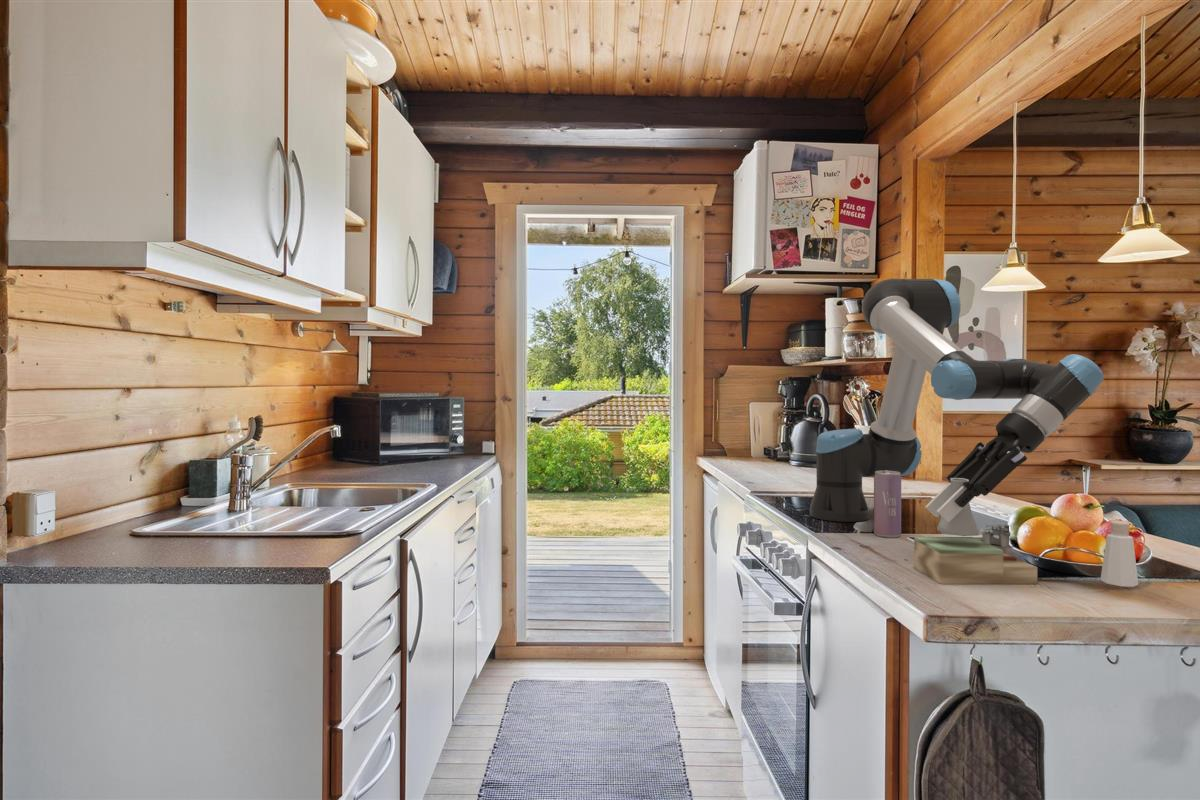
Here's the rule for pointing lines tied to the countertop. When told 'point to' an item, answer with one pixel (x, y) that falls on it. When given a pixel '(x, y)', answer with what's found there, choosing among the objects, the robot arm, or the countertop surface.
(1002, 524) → the egg carton
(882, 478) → the beverage can
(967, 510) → the flask
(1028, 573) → the stand
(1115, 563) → the salt shaker
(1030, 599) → the countertop surface
